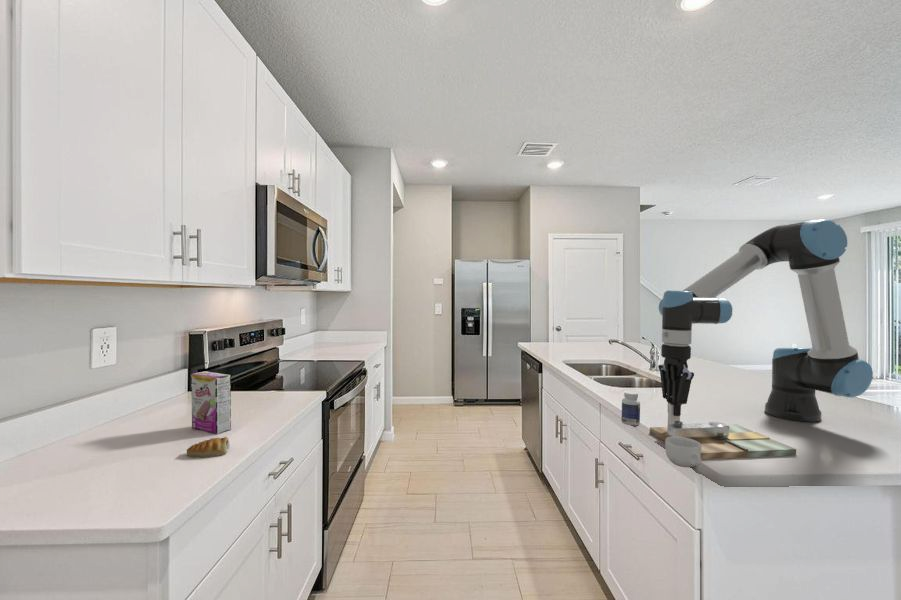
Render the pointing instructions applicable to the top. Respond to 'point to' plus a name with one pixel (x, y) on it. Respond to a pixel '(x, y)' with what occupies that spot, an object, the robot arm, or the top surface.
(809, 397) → the robot arm
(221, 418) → the candy bar box
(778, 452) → the door board
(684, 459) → the teacup
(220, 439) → the pastry
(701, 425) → the latch arm
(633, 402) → the pill bottle
